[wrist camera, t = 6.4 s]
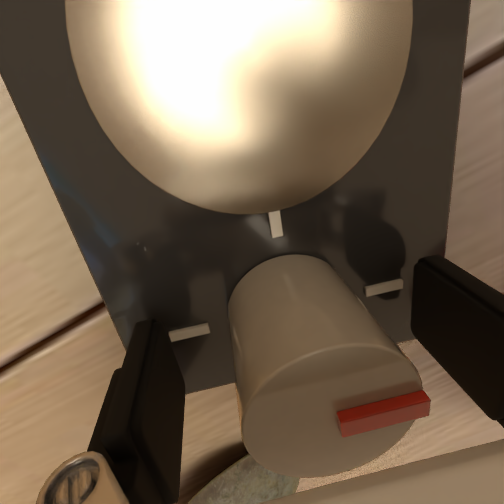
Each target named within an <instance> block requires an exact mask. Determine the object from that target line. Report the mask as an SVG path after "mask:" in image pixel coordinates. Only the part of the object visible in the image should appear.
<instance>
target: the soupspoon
mask: <svg viewBox="0 0 504 504" xmlns="http://www.w3.org/2000/svg"><path fill="white" fill-rule="evenodd" d="M299 479H300V478H298V477H291V476H286V475H281V474H278V473H275V472H273V471H270V470H268V469H266V468H265V467H263V466H261V465H260V464H259V463H257V462H256V461H255V460H254V459H253V458H252V457H251V455H250V454H247V455H246V456H244V457H242V458H241V459H239V460H238V461H237V462H235V463H234V464H233V465H231V466H229V467H228V468H227V469H225V470H224V471H223V472H221V473H220V474H219V475H218V476H216V477H215V478H214V479H212V480H211V481H210V482H209V483H208V484H207V485H205V486H204V487H203V488H202V489H201V490H200V491H199V492H198V493H197V494H196V495H195V496H194V497H193V498H192V499H191V500H190V501H189V502H188V503H187V504H257V503H261V502H265V501H268V500H272V499H276V498H280V497H283V496H287V495H291V494H295V492H296V490H297V487H298V484H299Z"/></svg>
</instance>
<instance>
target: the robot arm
mask: <svg viewBox="0 0 504 504" xmlns="http://www.w3.org/2000/svg"><path fill="white" fill-rule="evenodd" d="M410 327H411V331H412V333H413V335H414V336H415V338H416V339H417V340H418V341H419V342H420V343H421V344H422V345H423V346H424V347H425V349H426V350H427V351H428V352H429V353H430V354H431V355H432V356H433V357H434V358H435V359H436V361H437V362H438V363H439V364H440V365H441V366H442V367H443V368H444V369H445V370H446V371H447V372H448V374H449V375H450V376H451V377H452V378H453V379H454V380H455V381H456V382H457V383H458V384H459V386H460V387H461V388H462V389H463V390H464V391H465V392H466V393H467V394H468V395H469V396H470V397H471V399H472V400H473V401H474V402H475V403H476V404H477V405H478V406H479V407H480V408H481V409H482V411H483V412H484V413H485V414H486V415H487V416H488V417H489V418H491V419H492V420H497V421H498V422H499V423H500V424H501V425H502V426H503V428H504V295H503V294H501V293H500V292H498V291H497V290H495V289H493V288H492V287H490V286H489V285H487V284H485V283H484V282H482V281H481V280H479V279H477V278H476V277H474V276H473V275H471V274H469V273H468V272H466V271H465V270H463V269H461V268H460V267H458V266H457V265H455V264H453V263H452V262H450V261H449V260H447V259H445V258H444V257H442V256H441V255H432V256H427V257H423V258H420V259H419V260H418V263H416V264H415V265H414V271H413V288H412V306H411V324H410ZM184 406H185V382H184V379H183V376H182V373H181V371H180V368H179V365H178V362H177V360H176V357H175V354H174V352H173V349H172V346H171V343H170V341H169V338H168V335H167V333H166V330H165V327H164V324H163V322H162V321H159V322H157V321H156V319H154V318H152V319H148V320H144V321H139V322H136V324H135V327H134V330H133V333H132V336H131V339H130V343H129V346H128V349H127V352H126V356H125V359H124V362H123V365H122V368H119V369H116V370H115V371H114V373H113V375H112V378H111V381H110V384H109V387H108V390H107V393H106V396H105V399H104V402H103V405H102V408H101V411H100V414H99V417H98V420H97V423H96V426H95V429H94V432H93V435H92V438H91V441H90V444H89V447H88V450H87V452H83V453H80V454H77V455H75V456H73V457H71V458H70V459H68V460H66V461H65V462H63V463H62V464H61V465H60V466H59V467H58V468H57V469H56V470H54V471H53V473H52V474H51V475H50V476H49V478H48V479H47V480H46V481H45V483H44V485H43V487H42V488H41V490H40V492H39V495H38V498H37V501H36V504H173V503H177V502H178V499H179V487H180V471H181V455H182V439H183V422H184ZM257 504H504V439H502V440H498V441H494V442H490V443H486V444H482V445H478V446H474V447H470V448H466V449H462V450H458V451H455V452H451V453H447V454H443V455H439V456H435V457H431V458H428V459H424V460H420V461H416V462H412V463H408V464H405V465H401V466H397V467H393V468H389V469H385V470H382V471H378V472H374V473H370V474H366V475H363V476H359V477H355V478H351V479H347V480H343V481H340V482H336V483H332V484H328V485H325V486H321V487H317V488H313V489H310V490H306V491H302V492H298V493H295V494H291V495H287V496H283V497H280V498H276V499H272V500H268V501H265V502H261V503H257Z"/></svg>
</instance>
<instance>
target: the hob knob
mask: <svg viewBox="0 0 504 504" xmlns="http://www.w3.org/2000/svg"><path fill="white" fill-rule="evenodd" d="M227 318H228V327H229V335H230V344H231V352H232V361H233V370H234V378H235V387H236V395H237V404H238V412H239V421H240V430H241V436H242V441H243V443H244V445H245V448H246V449H247V451H248V452H249V454H250V455H251V457H252V458H253V459H254V460H255V461H256V462H257V463H259V464H260V465H261V466H263V467H265V468H266V469H268V470H270V471H273V472H275V473H278V474H281V475H286V476H291V477H298V478H314V477H324V476H330V475H335V474H339V473H343V472H346V471H349V470H352V469H355V468H357V467H360V466H362V465H364V464H366V463H368V462H370V461H372V460H374V459H375V458H377V457H379V456H380V455H382V454H383V453H385V452H386V451H388V450H389V449H390V448H391V447H393V446H394V445H395V444H396V443H397V442H398V441H399V440H400V439H401V438H402V437H403V436H404V435H405V434H406V433H407V431H408V430H409V429H410V427H411V426H412V424H413V423H414V421H415V419H418V418H422V417H426V416H429V412H430V402H431V400H430V398H429V397H428V396H427V394H426V393H425V392H424V391H423V387H422V382H421V378H420V375H419V373H418V371H417V369H416V368H415V366H414V365H413V363H412V362H411V361H410V360H409V358H408V357H407V356H406V355H405V354H404V352H403V351H402V350H401V349H400V347H399V346H398V345H397V344H396V343H395V341H394V340H393V339H392V338H391V336H390V335H389V334H388V333H387V332H386V330H385V329H384V328H383V327H382V325H381V324H380V323H379V322H378V321H377V319H376V318H375V317H374V316H373V314H372V313H371V312H370V311H369V310H368V308H367V307H366V306H365V305H364V303H363V302H362V301H361V300H360V299H359V297H358V296H357V295H356V294H355V292H354V291H353V290H352V289H351V287H350V286H349V285H348V284H347V283H346V281H345V280H344V279H343V278H342V276H341V275H340V274H339V273H338V272H337V271H336V270H335V269H334V268H333V267H332V266H331V265H329V264H328V263H327V262H325V261H323V260H321V259H318V258H315V257H312V256H307V255H298V254H295V255H284V256H279V257H275V258H272V259H269V260H267V261H265V262H263V263H261V264H259V265H257V266H256V267H254V268H253V269H252V270H250V271H249V272H248V273H247V274H246V275H245V276H244V277H243V278H242V279H241V280H240V281H239V282H238V284H237V285H236V287H235V289H234V290H233V292H232V295H231V297H230V300H229V303H228V310H227Z"/></svg>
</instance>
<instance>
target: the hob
mask: <svg viewBox="0 0 504 504" xmlns="http://www.w3.org/2000/svg"><path fill="white" fill-rule="evenodd" d="M470 4H471V0H413V25H412V36H411V47H410V52H409V57H408V62H407V67H406V72H405V75H404V79H403V82H402V85H401V88H400V92H399V95H398V97H397V99H396V102H395V104H394V107H393V109H392V111H391V114H390V116H389V118H388V119H387V121H386V123H385V125H384V127H383V129H382V130H381V132H380V134H379V135H378V137H377V138H376V140H375V141H374V143H373V144H372V146H371V147H370V148H369V150H368V151H367V152H366V154H365V155H364V156H363V157H362V158H361V159H360V161H359V162H358V163H357V164H356V165H355V166H354V167H353V168H352V169H351V170H350V171H349V172H348V173H347V174H346V175H345V176H343V177H342V178H341V179H340V180H339V181H337V182H336V183H335V184H333V185H332V186H331V187H329V188H328V189H327V190H325V191H323V192H322V193H320V194H318V195H316V196H315V197H313V198H311V199H309V200H307V201H305V202H302V203H300V204H298V205H295V206H293V207H289V208H286V209H282V210H279V211H275V212H269V213H262V214H246V215H237V214H228V213H220V212H215V211H211V210H207V209H203V208H200V207H197V206H194V205H192V204H189V203H186V202H184V201H182V200H180V199H178V198H176V197H174V196H172V195H170V194H168V193H166V192H165V191H163V190H162V189H160V188H159V187H157V186H156V185H155V184H153V183H152V182H150V181H149V180H148V179H146V178H145V177H144V176H143V175H142V174H141V173H139V172H138V171H137V170H136V169H135V168H134V167H133V166H132V165H131V164H130V163H129V162H128V161H127V160H126V159H125V158H124V157H123V156H122V154H121V153H120V152H119V151H118V150H117V149H116V148H115V146H114V145H113V143H112V142H111V141H110V139H109V138H108V136H107V135H106V134H105V132H104V131H103V130H102V128H101V126H100V124H99V122H98V121H97V119H96V117H95V115H94V114H93V112H92V110H91V108H90V106H89V104H88V102H87V99H86V97H85V95H84V92H83V90H82V88H81V85H80V83H79V80H78V76H77V73H76V70H75V66H74V63H73V60H72V56H71V51H70V45H69V40H68V34H67V29H66V15H65V0H0V74H1V76H2V79H3V81H4V83H5V85H6V87H7V90H8V92H9V94H10V96H11V98H12V101H13V103H14V105H15V107H16V110H17V112H18V114H19V116H20V118H21V121H22V123H23V125H24V127H25V129H26V132H27V134H28V136H29V138H30V140H31V143H32V145H33V147H34V149H35V151H36V154H37V156H38V158H39V160H40V162H41V165H42V167H43V169H44V171H45V173H46V176H47V178H48V180H49V182H50V185H51V187H52V189H53V191H54V193H55V196H56V198H57V200H58V202H59V204H60V207H61V209H62V211H63V213H64V215H65V218H66V220H67V222H68V224H69V226H70V229H71V231H72V233H73V235H74V237H75V240H76V242H77V244H78V246H79V248H80V251H81V253H82V255H83V257H84V260H85V262H86V264H87V266H88V268H89V271H90V273H91V275H92V277H93V279H94V282H95V284H96V286H97V288H98V290H99V293H100V295H101V297H102V299H103V301H104V304H105V306H106V308H107V310H108V312H109V315H110V317H111V319H112V321H113V323H114V326H115V328H116V330H117V332H118V334H119V337H120V339H121V341H122V343H123V346H124V348H125V350H126V352H127V349H128V346H129V343H130V339H131V336H132V333H133V330H134V327H135V324H136V322H139V321H144V320H148V319H152V318H154V319H156V321H157V322H159V321H162V322H163V324H164V327H165V330H166V333H167V335H168V338H169V341H170V343H171V346H172V349H173V352H174V354H175V357H176V360H177V362H178V365H179V368H180V371H181V373H182V376H183V379H184V382H185V394H189V393H193V392H198V391H202V390H206V389H210V388H214V387H218V386H222V385H227V384H231V383H235V378H234V370H233V361H232V352H231V344H230V335H229V327H228V318H227V310H228V303H229V300H230V297H231V295H232V292H233V290H234V289H235V287H236V285H237V284H238V282H239V281H240V280H241V279H242V278H243V277H244V276H245V275H246V274H247V273H248V272H249V271H250V270H252V269H253V268H254V267H256V266H257V265H259V264H261V263H263V262H265V261H267V260H269V259H272V258H275V257H279V256H284V255H295V254H298V255H307V256H312V257H315V258H318V259H321V260H323V261H325V262H327V263H328V264H329V265H331V266H332V267H333V268H334V269H335V270H336V271H337V272H338V273H339V274H340V275H341V276H342V278H343V279H344V280H345V281H346V283H347V284H348V285H349V286H350V287H351V289H352V290H353V291H354V292H355V294H356V295H357V296H358V297H359V299H360V300H361V301H362V302H363V303H364V305H365V306H366V307H367V308H368V310H369V311H370V312H371V313H372V314H373V316H374V317H375V318H376V319H377V321H378V322H379V323H380V324H381V325H382V327H383V328H384V329H385V330H386V332H387V333H388V334H389V335H390V336H391V338H392V339H393V340H394V341H395V343H396V344H397V343H401V342H405V341H410V340H414V339H416V338H415V336H414V335H413V333H412V331H411V327H410V324H411V306H412V288H413V271H414V265H415V264H416V263H418V260H419V259H420V258H423V257H427V256H432V255H441V256H442V257H444V258H445V248H446V239H447V229H448V219H449V209H450V200H451V190H452V180H453V170H454V160H455V151H456V141H457V131H458V121H459V112H460V102H461V92H462V82H463V73H464V63H465V53H466V43H467V34H468V24H469V14H470Z"/></svg>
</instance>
